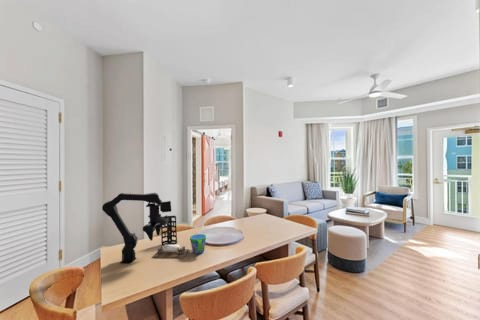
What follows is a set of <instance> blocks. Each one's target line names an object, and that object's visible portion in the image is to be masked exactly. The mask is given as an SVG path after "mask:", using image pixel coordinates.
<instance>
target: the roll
mask: <svg viewBox="0 0 480 320" xmlns="http://www.w3.org/2000/svg"><path fill="white" fill-rule="evenodd" d="M179 249H180V244H174V245H163V251H164V252H178V251H179Z"/></svg>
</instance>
